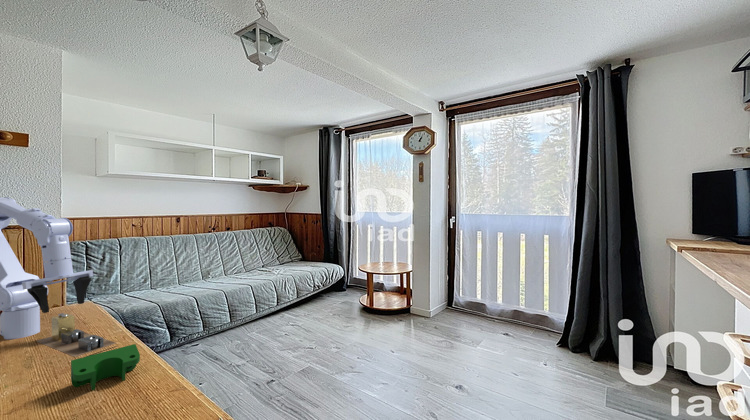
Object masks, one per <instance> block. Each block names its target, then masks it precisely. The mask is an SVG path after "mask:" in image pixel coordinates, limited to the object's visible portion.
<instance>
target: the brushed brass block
mask: <svg viewBox="0 0 750 420" xmlns="http://www.w3.org/2000/svg"><path fill="white" fill-rule="evenodd" d="M75 327H76V325H75V315H73V314H71V313H64V312H62V313H61V312H60V313H59V314H58V315H56V316H52V317H51V336H52V339H55V340H57V341H61V340H62V339H61V333H66V332H68V331H73V330H75V329H76V328H75Z"/></svg>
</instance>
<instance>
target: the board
mask: <svg viewBox="0 0 750 420" xmlns="http://www.w3.org/2000/svg"><path fill="white" fill-rule="evenodd" d="M91 335H92V334H91V333H87V332H85V331H84V338H85V337H88V336H91ZM36 342H37V343H38V344H41V345H44V346H47V347H49V348H52V349H54V350H56V351H59V352H61V353H64V354H67V356H68V355H69V356H71V357H74V358H76V357H80V356H83V355H86V354H89V353H91V352H94V351H97V350H100V351H98V352H95V353H92V354H89V355H88V356H90V355H94V354H98V353H102V352H106V351H109V350H112V349H114V348H117V347H118V346H117V345H115V344H117V342H115V341H111V340H109V339H106V338H103V344H104V347H101V348H100V347H99V348H98V349H95V350H91V351H89V352H87V351H84V350H81V349H79V348H78V342H75V343H72V344H66V343H63V342H62V340H61V341H57V340H55V339H52V335H51V336H49V337H48V336H47V337H45V338H41V339H37V340H35V343H36ZM112 345H115V346H113V347H110V348H109V346H112ZM106 347H108V348H107V349H103V348H106ZM101 349H103V350H101Z"/></svg>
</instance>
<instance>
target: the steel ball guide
mask: <svg viewBox="0 0 750 420" xmlns="http://www.w3.org/2000/svg"><path fill="white" fill-rule="evenodd" d="M84 332H85V331H84V330H82V329H78V328H75V330H73V331H68V332H66V333H61V339H62V342H63V343H66V344H72V343H75V342H78V348H79V349H81V350H84V351H87V352H89V351H91V350H95V349H98V348H99V347H100V348H101V347H104V344H103V339H104V337H103V336H100V335H96V334H91V336H88V337H85V338H84ZM104 348H105V347H104ZM101 349H102V348H101ZM98 350H99V349H98ZM95 351H96V350H95ZM89 353H90V352H89Z"/></svg>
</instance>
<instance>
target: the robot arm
mask: <svg viewBox="0 0 750 420" xmlns="http://www.w3.org/2000/svg"><path fill="white" fill-rule="evenodd" d="M12 219H14V220H16V223H17V225H18V226H20V227H22V228H24V229H26V230H29V231H31V232H32V234H33V236H34V238H35V239H36V241H37V245H38V246H39V247H40V249H41V256H42V264H43V270H44V277H43V278H40V276H39V275H35V274H32V273H29V272H26V271H25V270H24V268H23V266H22V265H21V263H20V261H19V259H18V258H17V256H16V253H15V252H14V250H13V249H12V247H11V245H10V243H9V242H8V240H7V239H6V237H5V235H4V233H3V232H2V229H3V230H4V229H5V228H7V227H8V226H9V225H10V223H11V220H12ZM73 230H74V225H73V223H72V222H71V220H70V219H68V218H67V217H60V218H59V217H58V218H56V217H55V216H53V215H52V214H47V213H45V212H44V211H42V209H41V208H39V207H31V208H25V207H24V206H22V205H20V204H19V203H17V201H16V199H14V198H11V197H9V196H5V197H1V196H0V311H2V312H1V313H0V336H2V337H3V339H4V340H16V339H18V340H19V339H22V338H23V339H24V338H26V337H30V336H33V335H36V334H38V333H40V332H41V312H42V314H46V313H47V314H48V313H49V312H50V307H49V303H48V302H49V301H48V295H49V287H48V286H49V285H54V284H59V283H64V282H69V281H72V284H73V286H74V289H75V294H76V302H77V305H83V304H85V298H86V293H87V290H88V289H89V285H90V283H91V281H92V277H94V271H93V269H91V270H82V271H78V272H74V269H73V261H72V253H71V246H70V239H69V237H70V236H71V235H72V234H73ZM55 280H56V281H55ZM40 310H41V311H40Z"/></svg>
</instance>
